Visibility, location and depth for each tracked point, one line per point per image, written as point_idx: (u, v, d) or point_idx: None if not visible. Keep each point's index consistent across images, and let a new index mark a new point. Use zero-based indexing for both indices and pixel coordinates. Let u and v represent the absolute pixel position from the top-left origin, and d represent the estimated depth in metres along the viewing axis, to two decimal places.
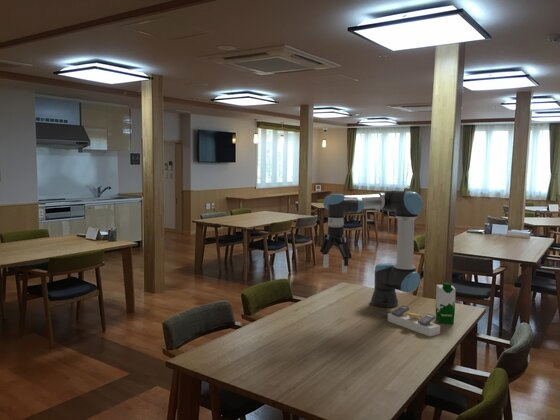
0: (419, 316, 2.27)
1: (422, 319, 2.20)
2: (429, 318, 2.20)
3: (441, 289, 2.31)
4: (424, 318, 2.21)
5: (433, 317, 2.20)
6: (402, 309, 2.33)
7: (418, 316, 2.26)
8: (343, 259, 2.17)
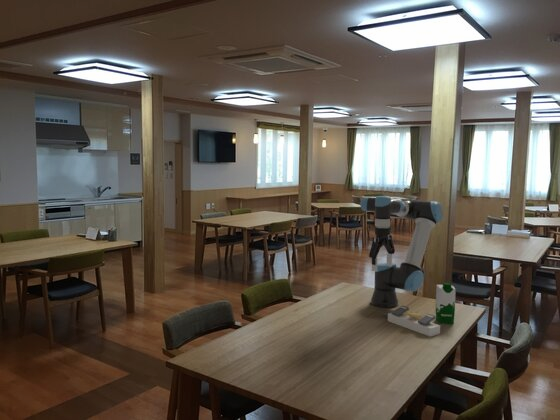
0: (419, 316, 2.27)
1: (422, 319, 2.20)
2: (429, 318, 2.20)
3: (441, 289, 2.31)
4: (424, 318, 2.21)
5: (433, 317, 2.20)
6: (402, 309, 2.33)
7: (418, 316, 2.26)
8: (370, 257, 2.31)
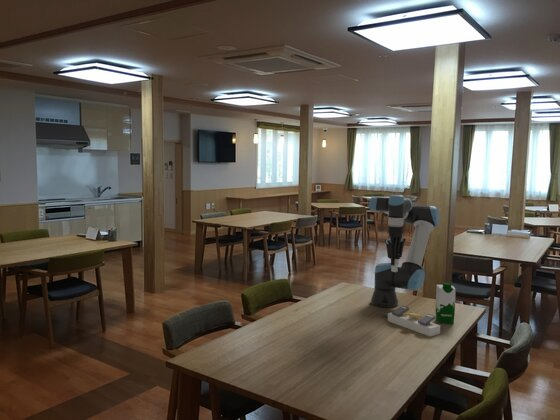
0: (419, 316, 2.27)
1: (422, 319, 2.20)
2: (429, 318, 2.20)
3: (441, 289, 2.31)
4: (424, 318, 2.21)
5: (433, 317, 2.20)
6: (402, 309, 2.33)
7: (418, 316, 2.26)
8: None
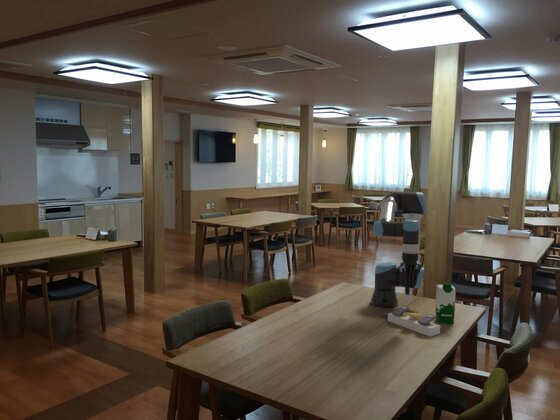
0: (419, 316, 2.27)
1: (422, 319, 2.20)
2: (429, 318, 2.20)
3: (441, 289, 2.31)
4: (424, 318, 2.21)
5: (433, 317, 2.20)
6: (402, 309, 2.33)
7: (418, 316, 2.26)
8: None
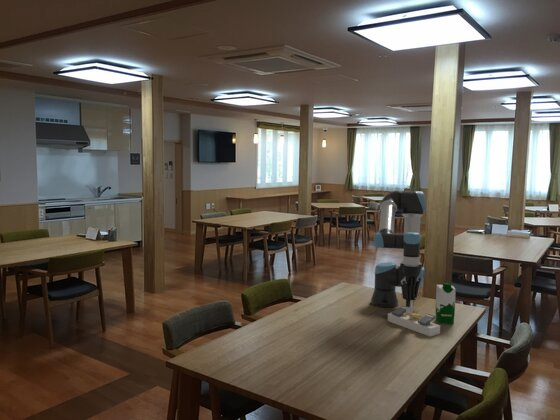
0: (419, 316, 2.27)
1: (422, 319, 2.20)
2: (429, 318, 2.20)
3: (441, 289, 2.31)
4: (424, 318, 2.21)
5: (433, 317, 2.20)
6: (402, 309, 2.33)
7: (418, 316, 2.26)
8: None
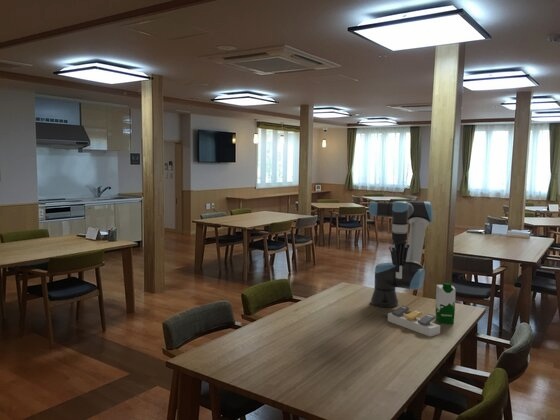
0: (419, 314, 2.27)
1: (422, 319, 2.20)
2: (429, 318, 2.20)
3: (441, 289, 2.31)
4: (424, 318, 2.21)
5: (433, 317, 2.20)
6: (402, 309, 2.33)
7: (418, 315, 2.26)
8: None
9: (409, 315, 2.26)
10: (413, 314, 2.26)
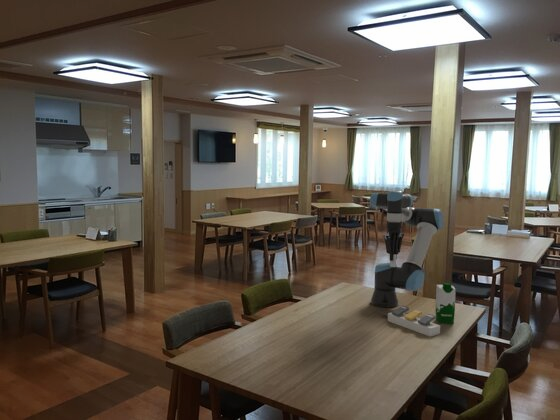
0: (419, 314, 2.27)
1: (422, 319, 2.20)
2: (429, 318, 2.20)
3: (441, 289, 2.31)
4: (424, 318, 2.21)
5: (433, 317, 2.20)
6: (402, 309, 2.33)
7: (418, 314, 2.26)
8: (388, 253, 2.41)
9: (409, 315, 2.26)
10: (413, 314, 2.26)
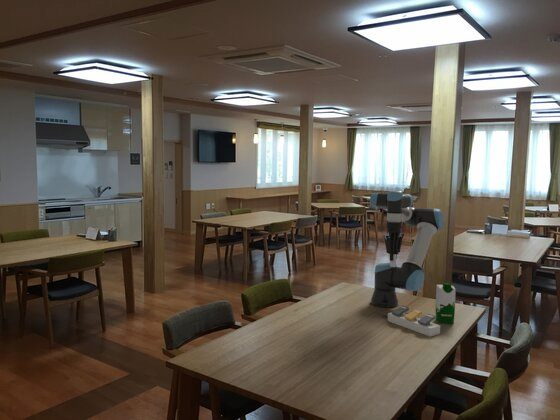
0: (419, 314, 2.27)
1: (422, 319, 2.20)
2: (429, 318, 2.20)
3: (441, 289, 2.31)
4: (424, 318, 2.21)
5: (433, 317, 2.20)
6: (402, 309, 2.33)
7: (418, 314, 2.26)
8: (388, 253, 2.41)
9: (409, 316, 2.26)
10: (413, 314, 2.26)
